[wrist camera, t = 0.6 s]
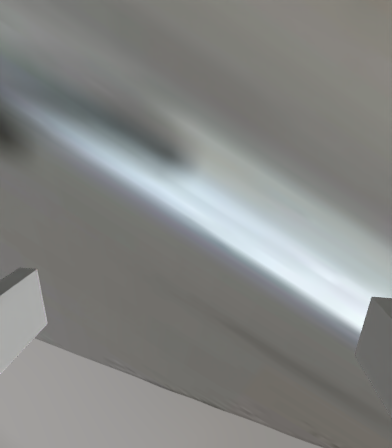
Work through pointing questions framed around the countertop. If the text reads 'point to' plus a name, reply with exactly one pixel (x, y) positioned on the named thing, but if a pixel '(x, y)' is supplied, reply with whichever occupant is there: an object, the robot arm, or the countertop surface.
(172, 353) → the countertop surface
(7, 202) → the countertop surface
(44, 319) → the robot arm
